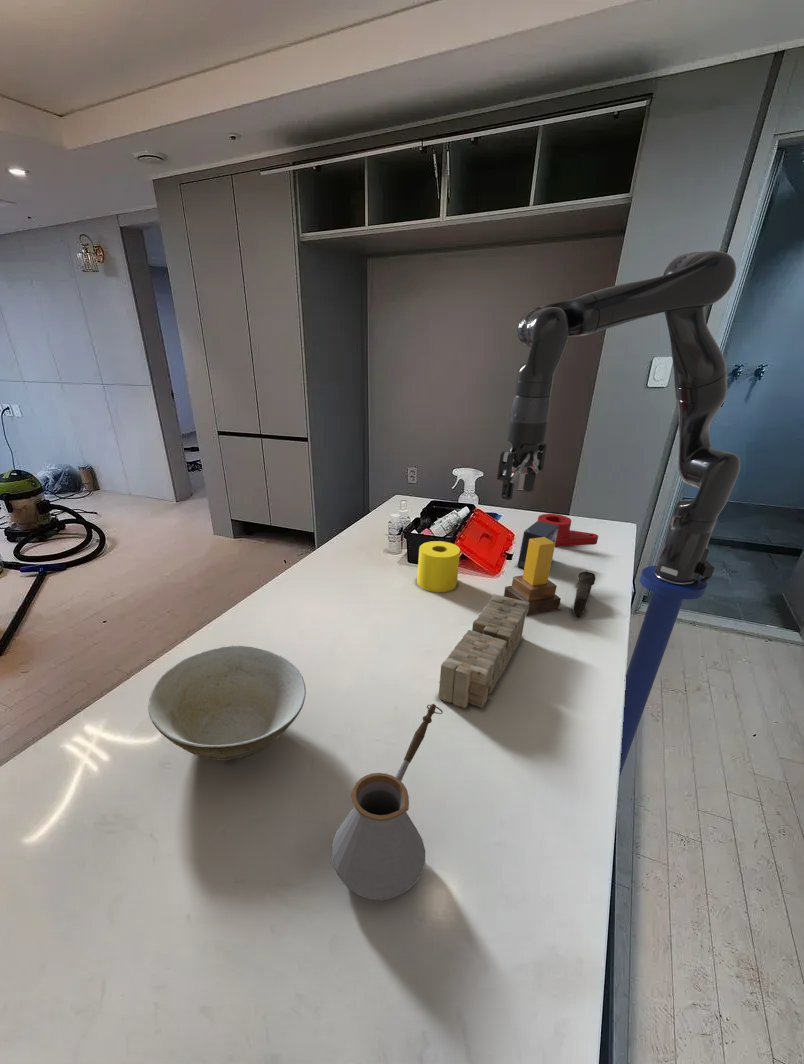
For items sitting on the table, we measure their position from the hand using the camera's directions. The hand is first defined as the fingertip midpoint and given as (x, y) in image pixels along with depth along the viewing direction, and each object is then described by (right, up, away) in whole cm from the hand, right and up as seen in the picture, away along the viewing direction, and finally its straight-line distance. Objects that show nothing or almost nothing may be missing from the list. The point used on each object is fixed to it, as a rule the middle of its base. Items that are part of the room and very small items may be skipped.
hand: (517, 494), depth 113 cm
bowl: (-56, -46, -30) cm, 78 cm away
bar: (+6, -19, +5) cm, 20 cm away
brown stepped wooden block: (+6, -24, +8) cm, 26 cm away
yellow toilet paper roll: (-15, -19, +18) cm, 30 cm away
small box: (+14, -14, +27) cm, 34 cm away
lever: (+28, -6, +42) cm, 50 cm away
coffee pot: (-31, -55, -46) cm, 78 cm away
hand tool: (+19, -24, +9) cm, 31 cm away
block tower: (-11, -36, -13) cm, 40 cm away
